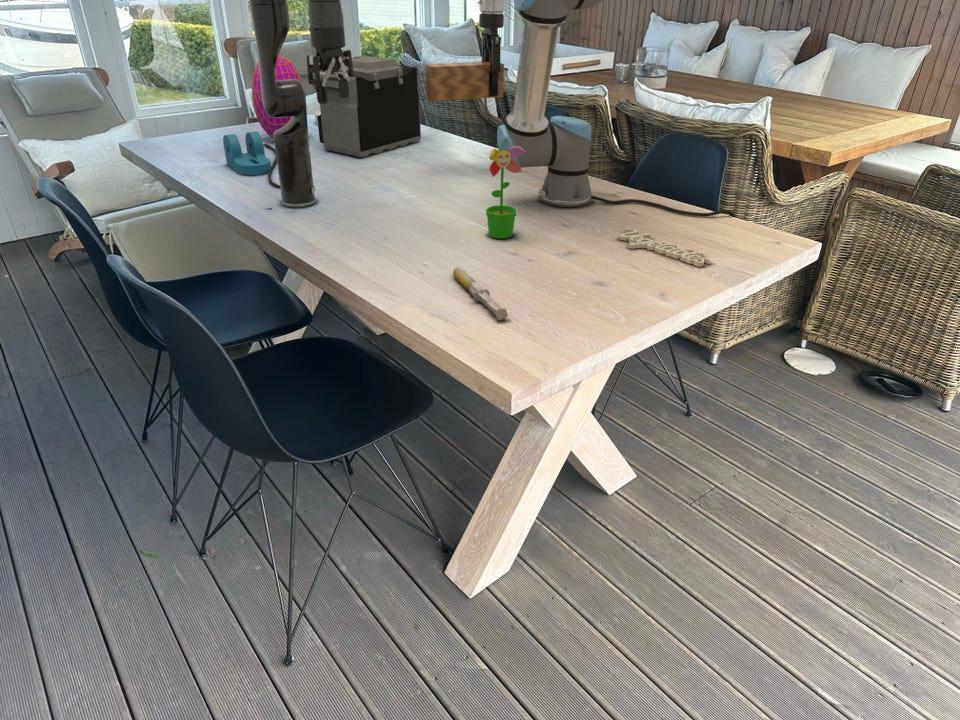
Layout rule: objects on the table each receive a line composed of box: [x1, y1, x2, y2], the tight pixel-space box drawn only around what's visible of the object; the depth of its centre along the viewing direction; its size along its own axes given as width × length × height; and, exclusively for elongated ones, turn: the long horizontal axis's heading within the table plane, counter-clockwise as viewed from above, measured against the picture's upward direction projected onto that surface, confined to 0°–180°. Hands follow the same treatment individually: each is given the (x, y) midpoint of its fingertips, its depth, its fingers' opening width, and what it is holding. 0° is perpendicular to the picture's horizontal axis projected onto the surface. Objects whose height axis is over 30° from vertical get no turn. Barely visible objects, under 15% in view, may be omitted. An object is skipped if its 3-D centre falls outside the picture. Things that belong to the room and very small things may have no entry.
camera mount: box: [222, 131, 272, 176], centre depth 226 cm, size 18×10×10 cm, turn 35°
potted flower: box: [485, 137, 526, 239], centre depth 171 cm, size 9×8×25 cm
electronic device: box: [311, 55, 422, 159], centre depth 250 cm, size 37×22×30 cm, turn 144°
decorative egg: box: [251, 54, 305, 140], centre depth 257 cm, size 19×19×30 cm
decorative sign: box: [618, 227, 711, 267], centre depth 169 cm, size 26×1×10 cm
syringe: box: [452, 266, 509, 321], centre depth 145 cm, size 25×4×3 cm, turn 21°
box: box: [425, 61, 505, 102], centre depth 214 cm, size 24×6×10 cm, turn 109°
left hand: (333, 100), depth 161 cm, fingers open, 8 cm apart
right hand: (490, 93), depth 219 cm, fingers closed on box, 6 cm apart
